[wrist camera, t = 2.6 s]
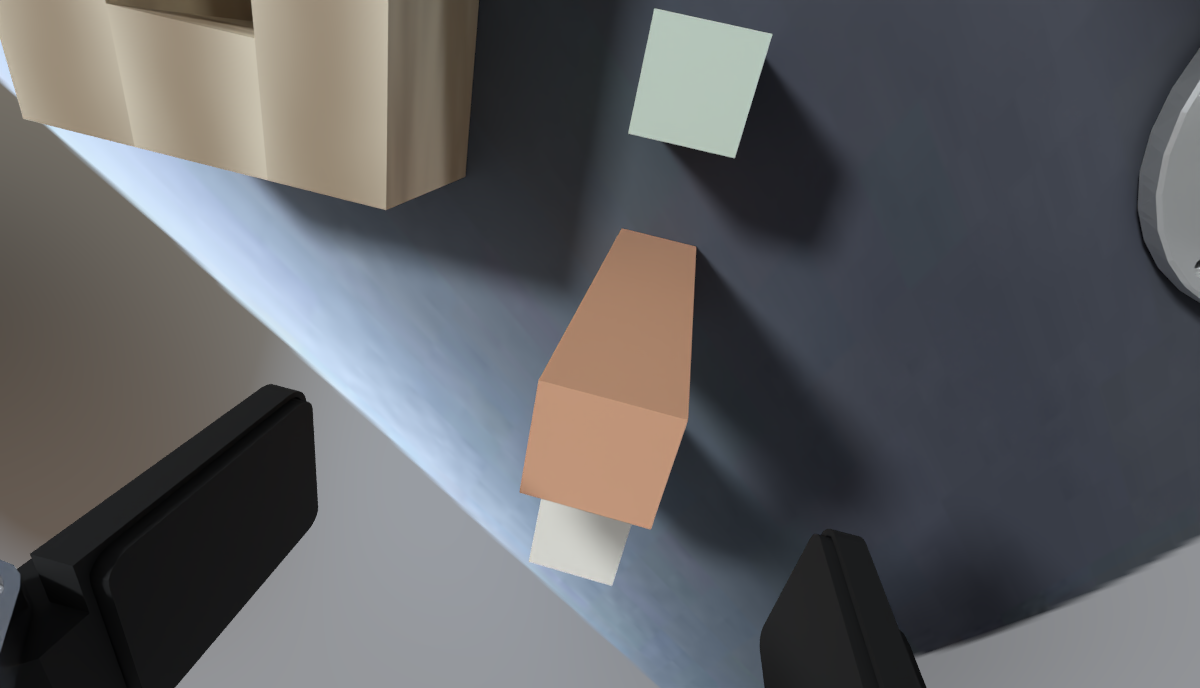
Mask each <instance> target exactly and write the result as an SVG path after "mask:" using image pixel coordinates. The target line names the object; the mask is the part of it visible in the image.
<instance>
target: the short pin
mask: <svg viewBox="0 0 1200 688" xmlns="http://www.w3.org/2000/svg"><path fill="white" fill-rule="evenodd" d="M771 37H772V34H770V33H765V32H760V31H756V30H751V29H747V28H742V27H737V26H733V25H728V24H724V23H719V22H714V21H710V20H705V19H701V18H696V17H692V16H687V15H682V14H678V13H673V12H669V11H664V10H659V9H655V8H654V13H653V18H652V23H651V27H650V32H649V37H648V42H647V46H646V51H645V56H644V61H643V66H642V70H641V75H640V80H639V85H638V89H637V94H636V99H635V104H634V109H633V113H632V118H631V123H630V128H629V133H628V134H633V135H637V136H641V137H646V138H650V139H654V140H658V141H663V142H667V143H671V144H675V145H680V146H684V147H688V148H693V149H697V150H701V151H705V152H710V153H714V154H718V155H723V156H727V157H731V158H735V156H736V153H737V149H738V146H739V143H740V139H741V136H742V133H743V130H744V126H745V123H746V120H747V116H748V113H749V110H750V106H751V103H752V100H753V97H754V93H755V90H756V87H757V83H758V80H759V77H760V73H761V70H762V67H763V64H764V60H765V57H766V54H767V50H768V47H769V44H770V40H771Z"/></svg>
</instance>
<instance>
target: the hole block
mask: <svg viewBox="0 0 1200 688" xmlns="http://www.w3.org/2000/svg"><path fill="white" fill-rule="evenodd" d="M478 8H479V0H0V39H1V43H2V46H3V50H4V53H5V57H6V60H7V64H8V67H9V71H10V74H11V78H12V81H13V85H14V88H15V92H16V95H17V98H18V102H19V105H20V109H21V112H22V116H23V119H27V120H31V121H35V122H39V123H42V124H46V125H50V126H54V127H58V128H62V129H66V130H70V131H74V132H78V133H82V134H86V135H90V136H94V137H98V138H102V139H106V140H110V141H114V142H118V143H122V144H126V145H130V146H134V147H138V148H142V149H146V150H149V151H153V152H157V153H161V154H165V155H169V156H173V157H177V158H181V159H185V160H189V161H193V162H197V163H201V164H205V165H209V166H213V167H217V168H221V169H225V170H229V171H233V172H237V173H241V174H245V175H249V176H253V177H257V178H261V179H265V180H268V181H272V182H276V183H280V184H284V185H288V186H292V187H296V188H300V189H304V190H308V191H312V192H316V193H320V194H324V195H328V196H332V197H336V198H340V199H344V200H348V201H352V202H356V203H360V204H364V205H368V206H372V207H376V208H380V209H384V210H388V209H390V208H392V207H395V206H397V205H400V204H402V203H404V202H407V201H409V200H411V199H414V198H416V197H419V196H421V195H423V194H426V193H428V192H431V191H433V190H435V189H438V188H440V187H442V186H445V185H447V184H450V183H452V182H454V181H457V180H459V179H461V178H464V177H465V174H466V161H467V148H468V135H469V123H470V110H471V97H472V85H473V72H474V59H475V46H476V34H477V21H478Z"/></svg>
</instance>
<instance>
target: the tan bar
mask: <svg viewBox="0 0 1200 688" xmlns="http://www.w3.org/2000/svg"><path fill="white" fill-rule="evenodd" d="M695 264H696V247H695V246H691V245H687V244H683V243H679V242H675V241H671V240H667V239H663V238H659V237H655V236H651V235H647V234H643V233H639V232H635V231H631V230H627V229H623V228H622V229H621V231H620V232H619V234H618V236H617V238H616V240H615V241H614V243H613V245H612V247H611V249H610V251H609V252H608V254H607V256H606V258H605V260H604V262H603V263H602V265H601V267H600V269H599V271H598V273H597V274H596V276H595V278H594V280H593V282H592V284H591V285H590V287H589V289H588V291H587V293H586V295H585V296H584V298H583V300H582V302H581V304H580V306H579V307H578V309H577V311H576V313H575V315H574V317H573V318H572V320H571V322H570V324H569V326H568V327H567V329H566V331H565V333H564V335H563V337H562V338H561V340H560V342H559V344H558V346H557V348H556V349H555V351H554V353H553V355H552V357H551V359H550V360H549V362H548V364H547V366H546V368H545V370H544V371H543V373H542V375H541V377H540V379H539V382H538V387H537V393H536V399H535V405H534V411H533V416H532V422H531V428H530V434H529V440H528V446H527V451H526V457H525V463H524V469H523V475H522V481H521V486H520V493H523V494H527V495H530V496H534V497H537V498H541V499H544V500H548V501H552V502H555V503H559V504H562V505H566V506H569V507H573V508H576V509H580V510H583V511H587V512H591V513H594V514H598V515H601V516H605V517H608V518H612V519H615V520H619V521H622V522H626V523H630V524H633V525H637V526H640V527H644V528H647V529H651V527H652V524H653V521H654V518H655V515H656V512H657V510H658V507H659V504H660V501H661V498H662V495H663V492H664V489H665V486H666V483H667V480H668V477H669V474H670V471H671V468H672V466H673V463H674V460H675V457H676V454H677V451H678V448H679V445H680V442H681V439H682V436H683V433H684V430H685V427H686V424H687V422H688V410H689V389H690V368H691V347H692V327H693V306H694V285H695Z"/></svg>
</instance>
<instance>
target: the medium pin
mask: <svg viewBox="0 0 1200 688" xmlns="http://www.w3.org/2000/svg"><path fill="white" fill-rule="evenodd" d="M630 527H631V524H630V523H626V522H622V521H619V520H615V519H612V518H608V517H605V516H601V515H598V514H594V513H591V512H587V511H583V510H580V509H576V508H573V507H569V506H566V505H562V504H559V503H555V502H552V501H548V500H544V499H541V503H540V508H539V513H538V518H537V523H536V528H535V533H534V538H533V543H532V548H531V553H530V558H529V562H531V563H535V564H538V565H542V566H545V567H549V568H552V569H556V570H559V571H562V572H566V573H569V574H573V575H576V576H580V577H583V578H586V579H590V580H593V581H597V582H600V583H604V584H607V585H611V586H612V584H613V581H614V578H615V575H616V572H617V569H618V565H619V562H620V559H621V556H622V553H623V550H624V546H625V543H626V540H627V537H628V534H629V531H630Z"/></svg>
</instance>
